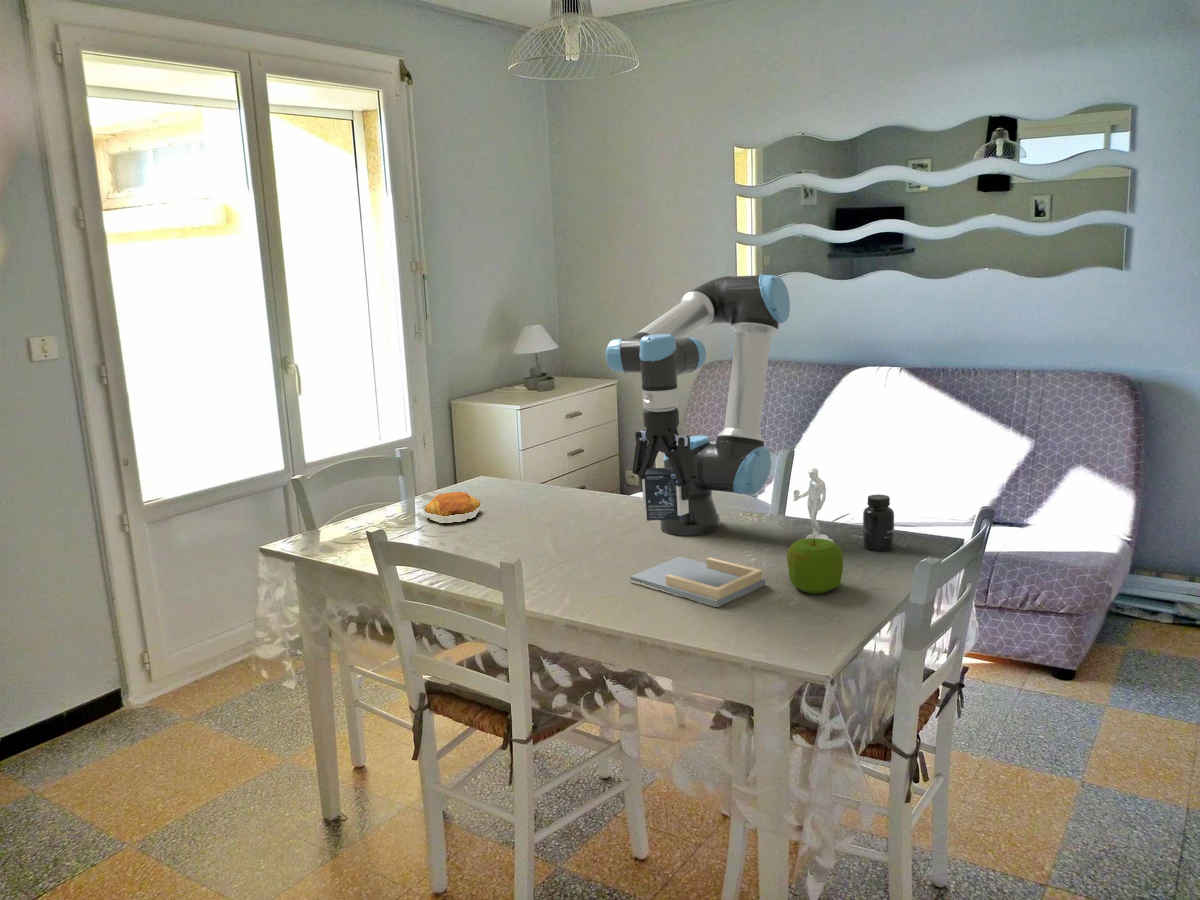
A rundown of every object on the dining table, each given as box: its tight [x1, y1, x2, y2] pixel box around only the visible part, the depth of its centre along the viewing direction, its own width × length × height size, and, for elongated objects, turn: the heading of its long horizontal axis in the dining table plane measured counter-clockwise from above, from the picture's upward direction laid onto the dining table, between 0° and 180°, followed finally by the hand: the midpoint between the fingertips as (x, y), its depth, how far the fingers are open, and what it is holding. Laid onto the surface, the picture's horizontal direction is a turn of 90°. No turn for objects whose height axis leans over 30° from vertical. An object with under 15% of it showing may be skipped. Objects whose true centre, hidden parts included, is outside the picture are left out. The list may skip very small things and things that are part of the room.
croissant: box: [424, 491, 481, 516], centre depth 266 cm, size 14×16×8 cm
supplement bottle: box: [862, 494, 895, 552], centre depth 218 cm, size 7×7×12 cm
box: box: [645, 467, 684, 522], centre depth 205 cm, size 8×6×11 cm
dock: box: [630, 556, 766, 608], centre depth 203 cm, size 24×16×4 cm, turn 44°
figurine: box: [792, 468, 836, 544], centre depth 224 cm, size 8×7×18 cm
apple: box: [786, 538, 844, 595], centre depth 196 cm, size 11×11×11 cm
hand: (665, 510), depth 206 cm, fingers closed on box, 9 cm apart
